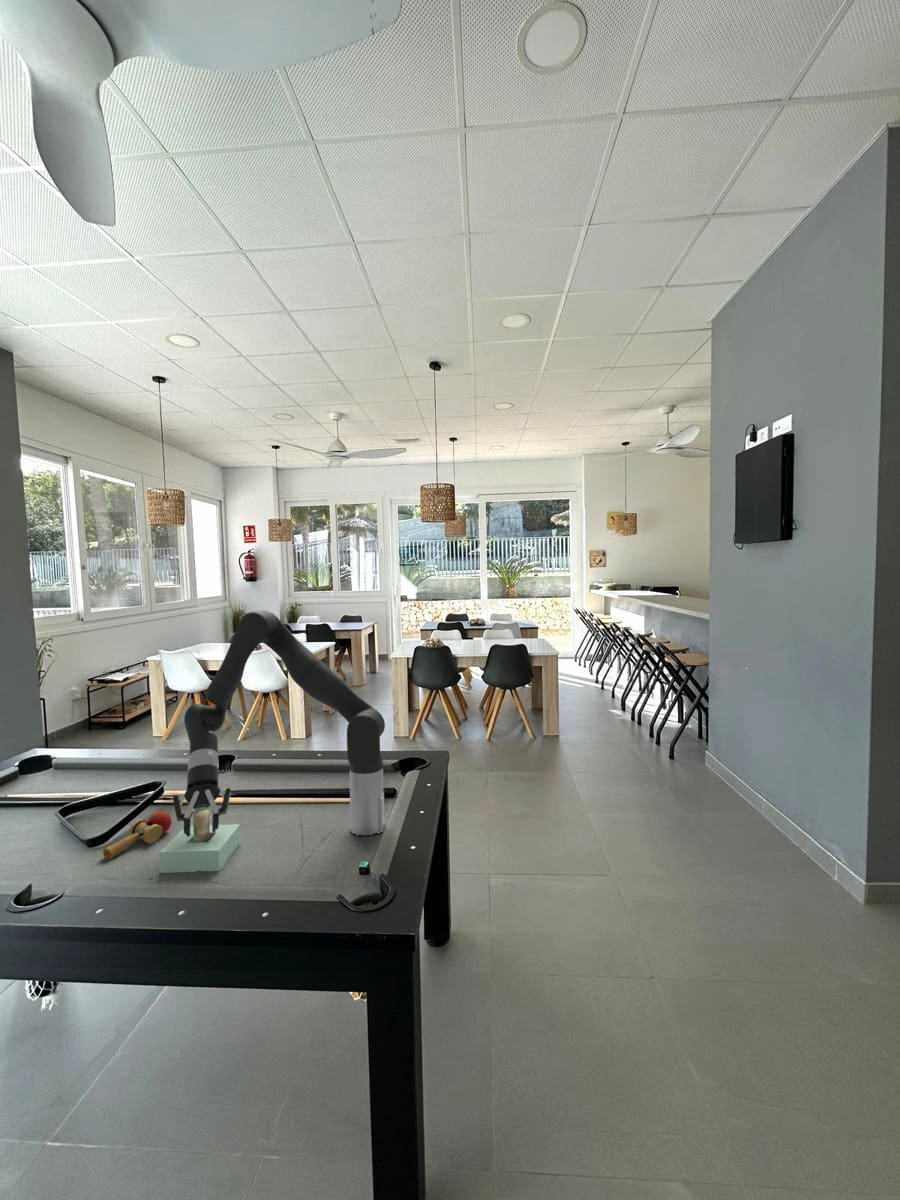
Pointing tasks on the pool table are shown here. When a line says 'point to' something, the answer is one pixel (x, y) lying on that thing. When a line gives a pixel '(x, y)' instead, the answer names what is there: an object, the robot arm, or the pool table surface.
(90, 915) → the pool table surface
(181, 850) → the socket block
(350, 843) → the pool table surface
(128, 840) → the kendama
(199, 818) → the pin
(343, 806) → the pool table surface
